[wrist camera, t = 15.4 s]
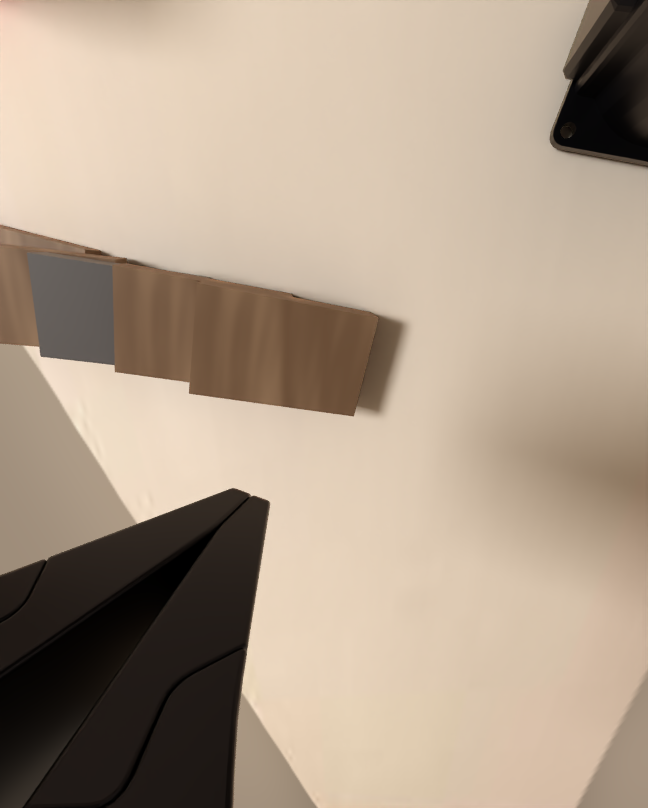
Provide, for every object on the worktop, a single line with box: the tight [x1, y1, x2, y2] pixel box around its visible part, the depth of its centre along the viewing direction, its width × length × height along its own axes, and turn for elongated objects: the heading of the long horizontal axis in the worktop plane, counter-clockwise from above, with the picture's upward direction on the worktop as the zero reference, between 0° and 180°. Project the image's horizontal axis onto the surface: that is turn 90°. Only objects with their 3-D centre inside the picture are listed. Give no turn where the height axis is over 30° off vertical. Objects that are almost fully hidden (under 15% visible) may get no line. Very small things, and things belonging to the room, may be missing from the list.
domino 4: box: [189, 280, 379, 416], centre depth 18 cm, size 2×5×8 cm
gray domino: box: [27, 252, 211, 365], centre depth 19 cm, size 2×5×8 cm
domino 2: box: [0, 244, 127, 347], centre depth 20 cm, size 2×5×8 cm
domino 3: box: [112, 263, 292, 382], centre depth 18 cm, size 2×5×8 cm
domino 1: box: [0, 225, 101, 255], centre depth 22 cm, size 2×5×8 cm
